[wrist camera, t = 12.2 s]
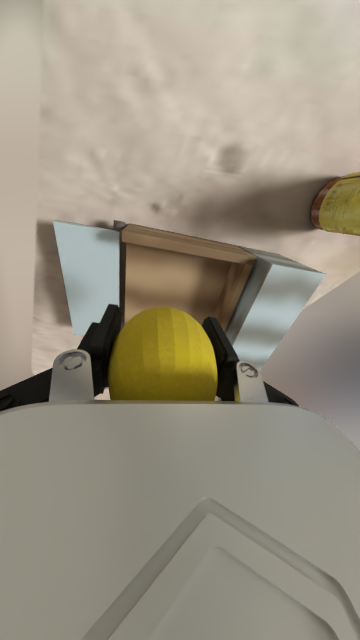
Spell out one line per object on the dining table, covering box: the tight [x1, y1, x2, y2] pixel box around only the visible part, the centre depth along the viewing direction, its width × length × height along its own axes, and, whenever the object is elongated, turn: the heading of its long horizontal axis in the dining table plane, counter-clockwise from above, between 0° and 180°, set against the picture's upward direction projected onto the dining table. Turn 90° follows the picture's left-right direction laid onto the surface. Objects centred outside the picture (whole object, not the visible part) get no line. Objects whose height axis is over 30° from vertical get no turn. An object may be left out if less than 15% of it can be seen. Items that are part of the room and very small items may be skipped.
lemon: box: [108, 307, 218, 401], centre depth 9 cm, size 6×6×8 cm
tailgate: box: [53, 220, 119, 335], centre depth 23 cm, size 15×2×6 cm
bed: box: [114, 220, 326, 371], centre depth 25 cm, size 18×24×9 cm
